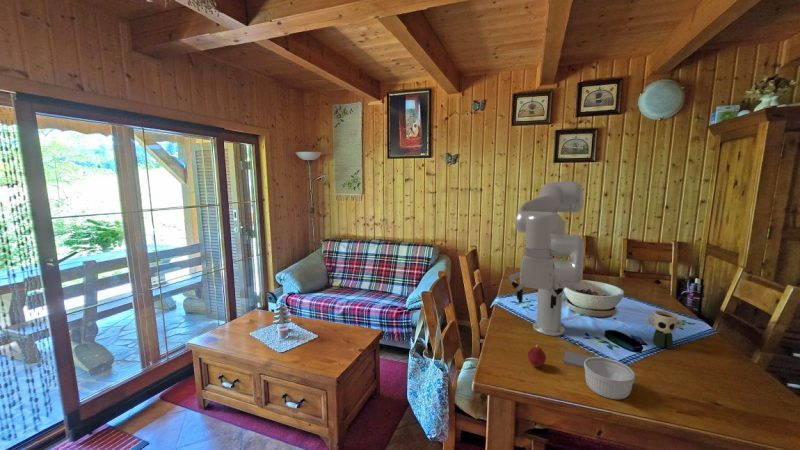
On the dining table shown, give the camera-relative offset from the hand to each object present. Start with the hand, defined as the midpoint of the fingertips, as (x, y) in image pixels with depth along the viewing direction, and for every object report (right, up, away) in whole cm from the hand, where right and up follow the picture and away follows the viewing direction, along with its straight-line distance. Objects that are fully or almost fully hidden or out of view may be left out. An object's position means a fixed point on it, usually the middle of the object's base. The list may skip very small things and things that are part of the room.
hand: (535, 304), depth 105 cm
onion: (+4, -24, +8) cm, 26 cm away
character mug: (+58, -21, +21) cm, 65 cm away
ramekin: (+21, -26, -4) cm, 33 cm away
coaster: (+20, -23, +11) cm, 33 cm away
